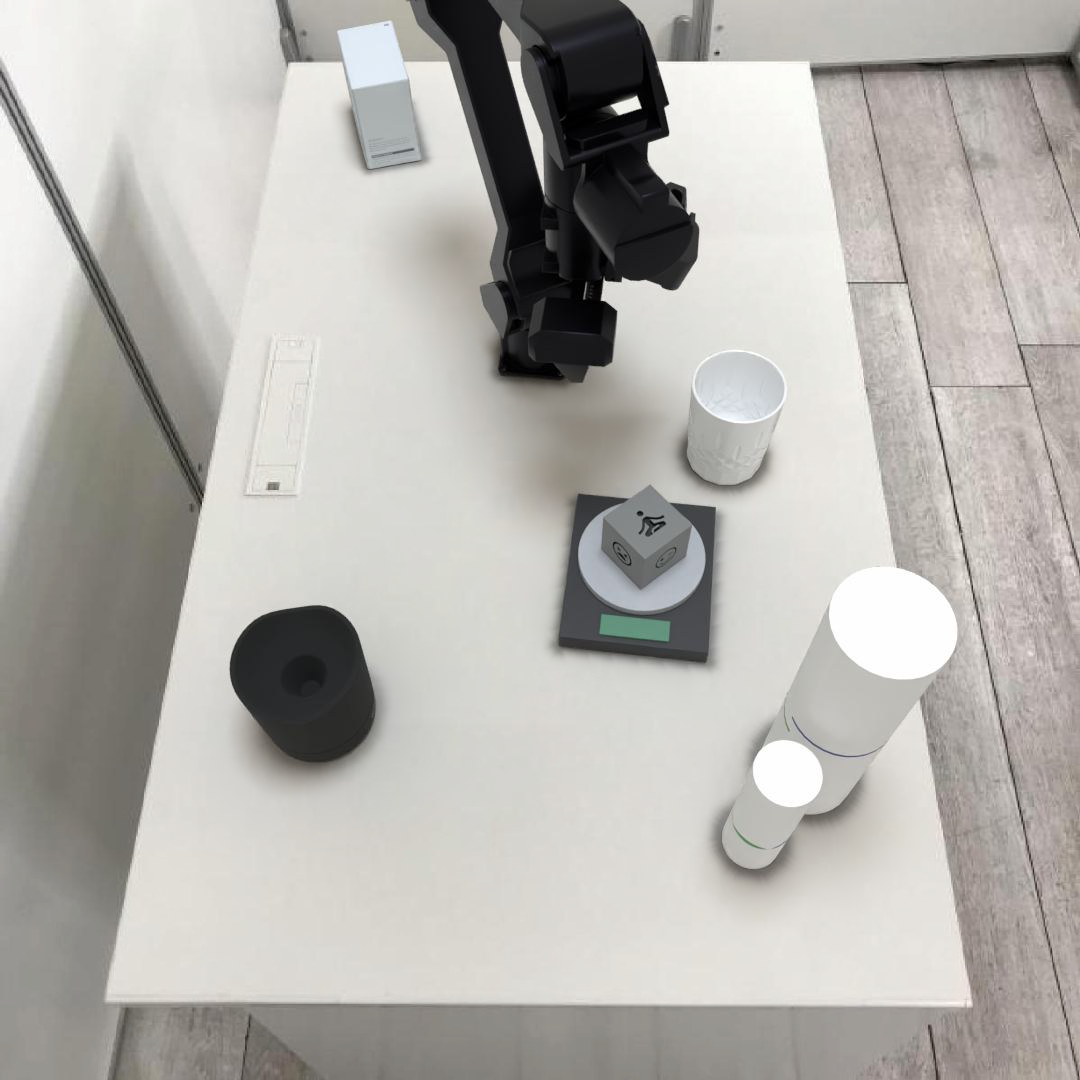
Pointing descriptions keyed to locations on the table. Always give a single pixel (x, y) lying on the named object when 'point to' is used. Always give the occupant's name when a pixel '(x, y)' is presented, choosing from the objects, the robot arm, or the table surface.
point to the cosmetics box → (379, 94)
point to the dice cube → (645, 536)
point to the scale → (637, 591)
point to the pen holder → (305, 681)
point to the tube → (771, 803)
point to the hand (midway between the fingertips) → (582, 339)
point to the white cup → (733, 414)
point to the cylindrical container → (864, 673)
